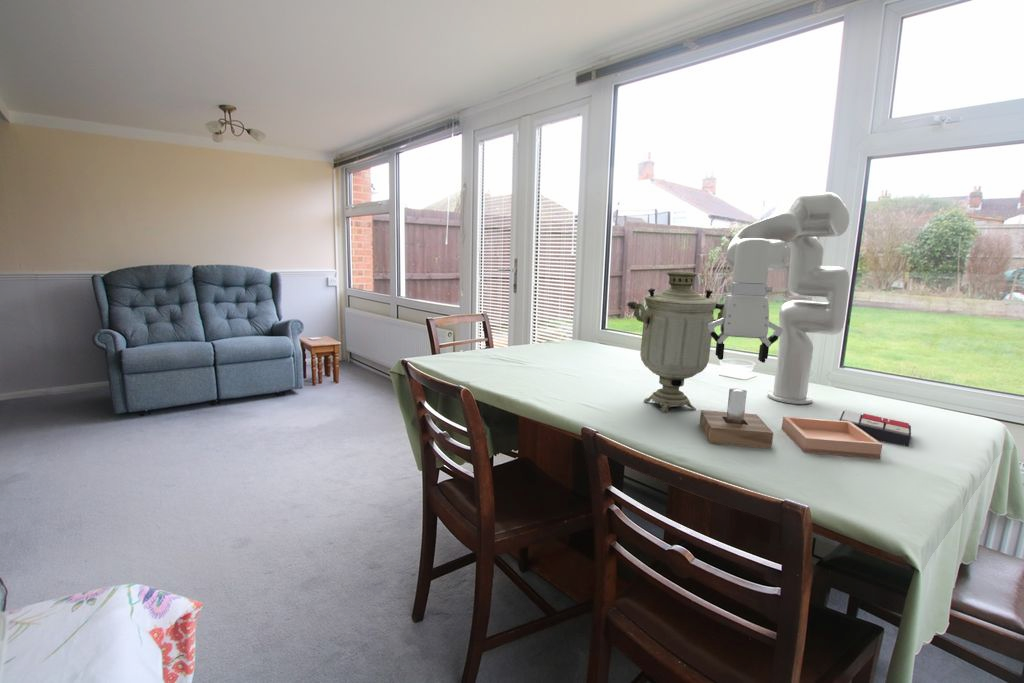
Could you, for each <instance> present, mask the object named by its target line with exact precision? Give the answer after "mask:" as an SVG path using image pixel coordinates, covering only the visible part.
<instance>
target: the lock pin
mask: <svg viewBox="0 0 1024 683" xmlns="http://www.w3.org/2000/svg"><path fill="white" fill-rule="evenodd" d="M747 393H748V391H747V389H744V388H738V387H731V388H729V391H728V399H727V400H728V401H727V407H726V408H727V409H726V412H727V418H726V423H731V424H743V422H744V413H746V404H747Z"/></svg>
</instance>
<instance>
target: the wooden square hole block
mask: <svg viewBox="0 0 1024 683" xmlns="http://www.w3.org/2000/svg"><path fill="white" fill-rule="evenodd" d="M726 418H727V411H717V410H706V409H705V410H704V409H701V410H700V417H699V425H700V427H701V429H702V432H703V433H704V436H705V437H706V439H707V441H708V443H709V444H713V445H714V444H715V445H727V446H736V447H738V446H739V447H750V448H760V449H770V450H771V449H772V448H773V438H774V432H773V430H772V429H770V427H769V426H768V425H767V424H766V423H765V422H764V421H763V420H762V418H761V417H760V416H759V415H758V414H756V413H748V412H747V413H746V412H745V413H744V422H743V424H731V423H726Z"/></svg>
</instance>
